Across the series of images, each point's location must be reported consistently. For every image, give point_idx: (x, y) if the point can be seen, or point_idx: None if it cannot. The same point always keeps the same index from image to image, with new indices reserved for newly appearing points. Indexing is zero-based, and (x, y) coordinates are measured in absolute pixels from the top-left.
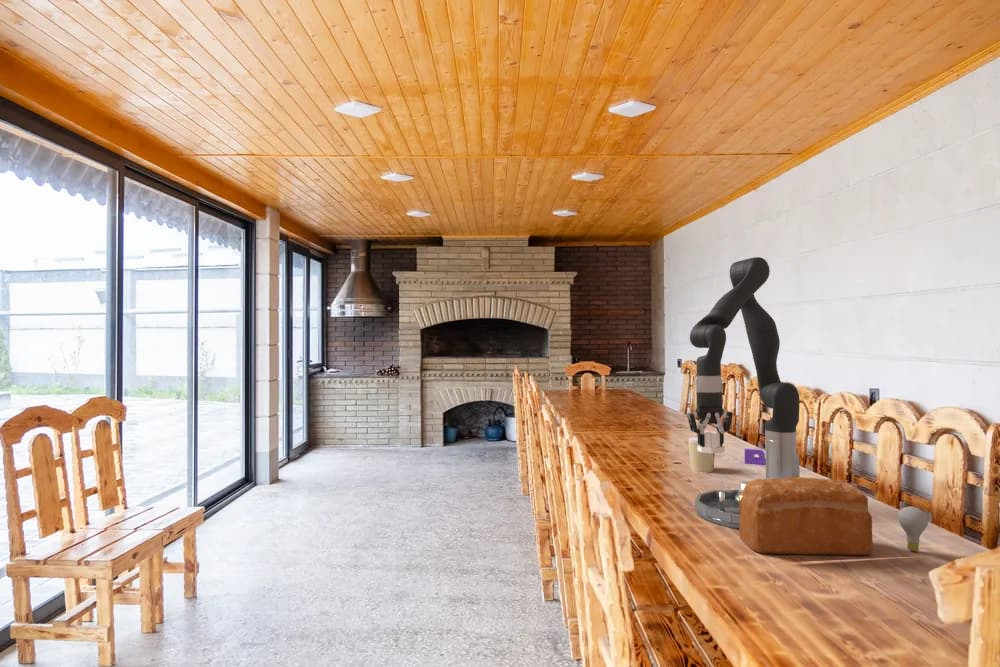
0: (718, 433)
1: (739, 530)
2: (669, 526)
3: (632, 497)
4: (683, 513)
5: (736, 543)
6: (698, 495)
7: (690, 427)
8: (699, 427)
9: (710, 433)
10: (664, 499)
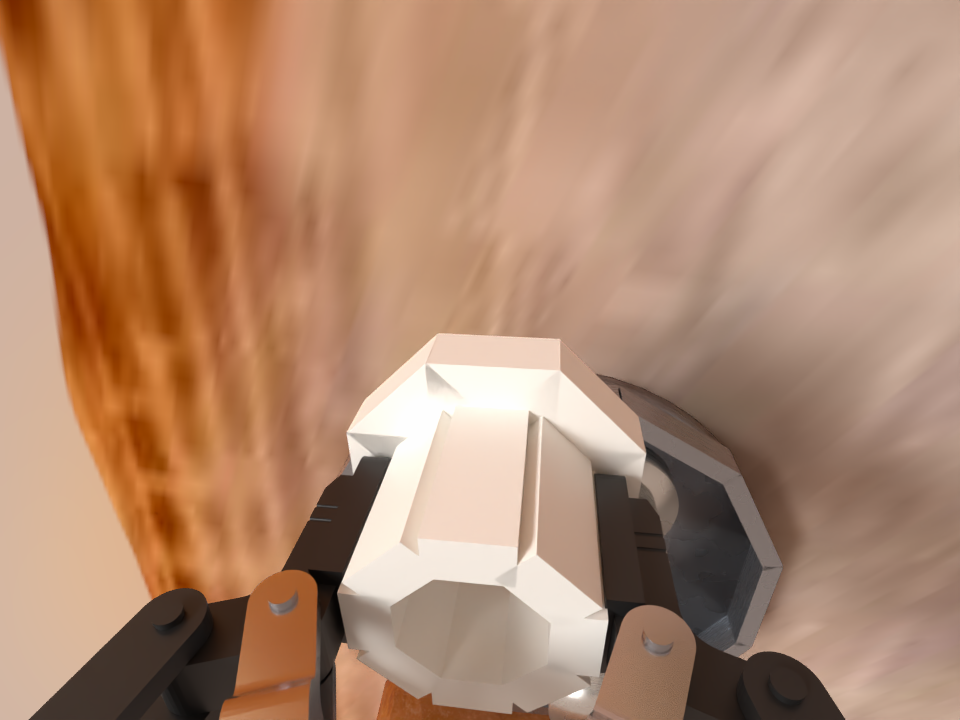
0: (565, 688)
1: (386, 690)
2: (203, 576)
3: (56, 213)
4: (281, 480)
5: (363, 693)
6: (351, 469)
7: (104, 658)
8: (266, 683)
9: (509, 568)
10: (233, 278)
